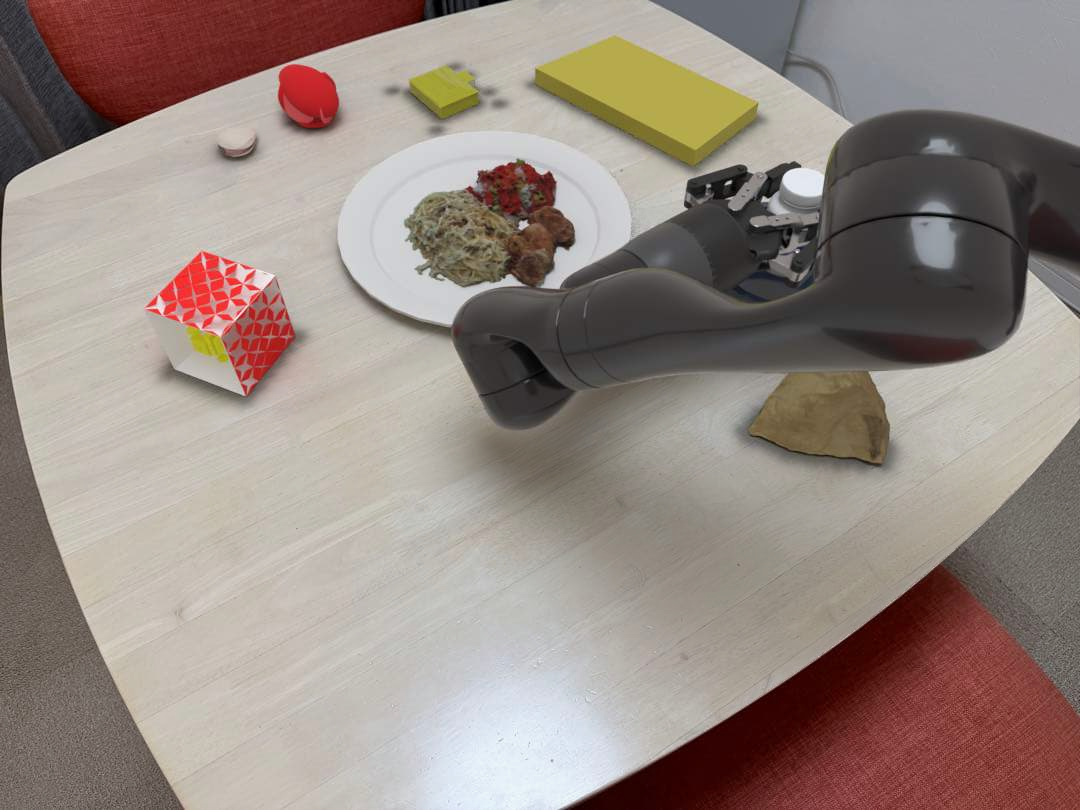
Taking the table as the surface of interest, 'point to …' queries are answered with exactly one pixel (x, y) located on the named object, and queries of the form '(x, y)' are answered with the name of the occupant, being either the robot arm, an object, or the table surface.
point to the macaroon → (236, 140)
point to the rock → (826, 415)
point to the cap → (307, 95)
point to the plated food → (477, 220)
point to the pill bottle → (797, 196)
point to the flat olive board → (649, 97)
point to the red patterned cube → (222, 322)
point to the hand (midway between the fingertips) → (820, 188)
